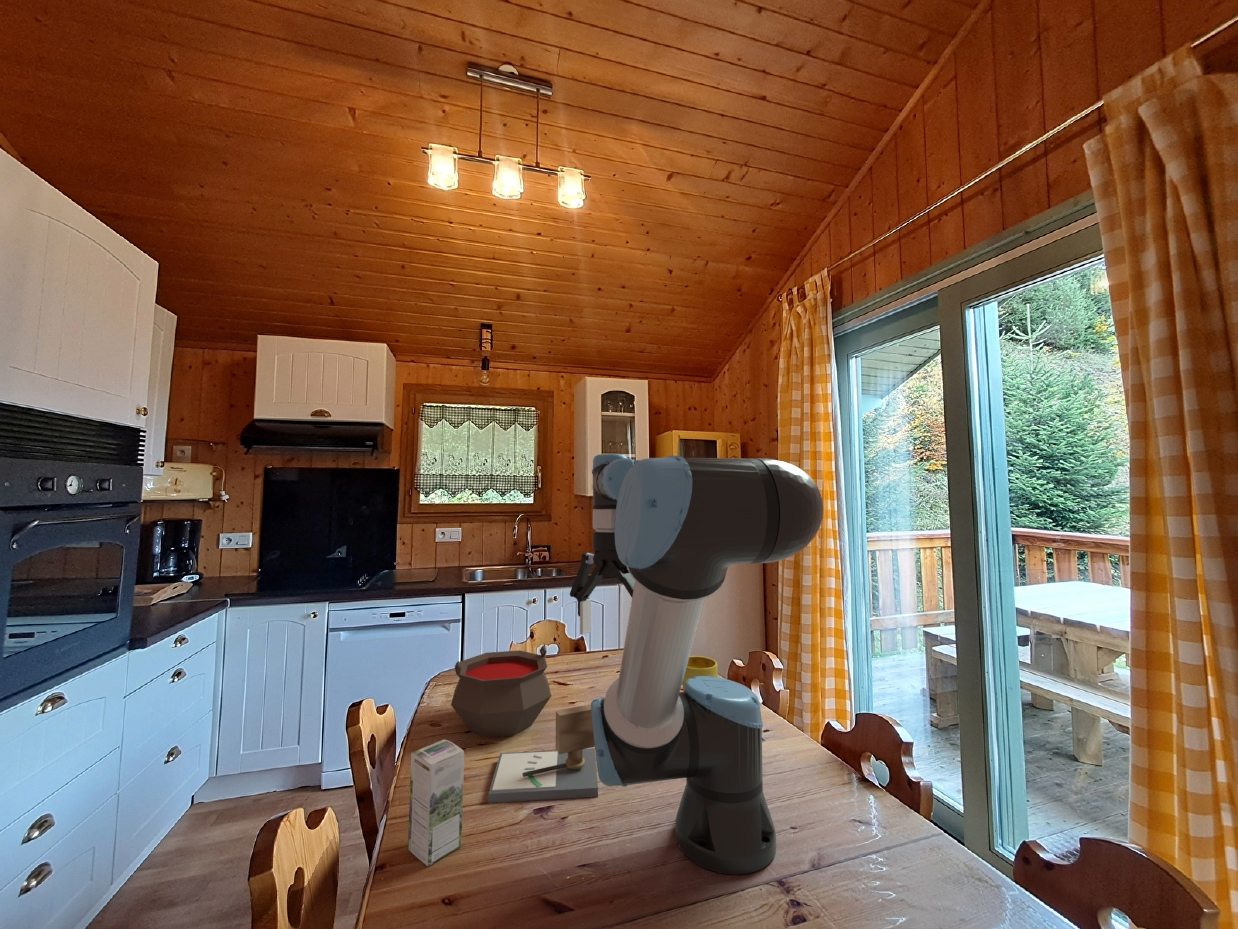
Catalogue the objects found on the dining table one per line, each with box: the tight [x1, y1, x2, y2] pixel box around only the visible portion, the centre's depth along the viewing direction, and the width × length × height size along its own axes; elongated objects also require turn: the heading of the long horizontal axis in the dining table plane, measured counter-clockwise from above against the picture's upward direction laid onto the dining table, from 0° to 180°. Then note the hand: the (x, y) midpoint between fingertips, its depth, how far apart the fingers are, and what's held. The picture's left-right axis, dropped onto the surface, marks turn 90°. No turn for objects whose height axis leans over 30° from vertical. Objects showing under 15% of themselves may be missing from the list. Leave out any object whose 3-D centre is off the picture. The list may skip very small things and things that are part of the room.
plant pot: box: [681, 655, 718, 692], centre depth 131 cm, size 10×10×10 cm
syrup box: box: [407, 739, 465, 867], centre depth 76 cm, size 6×6×14 cm
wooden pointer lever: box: [523, 703, 595, 777], centre depth 94 cm, size 14×4×10 cm, turn 114°
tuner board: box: [487, 748, 599, 804], centre depth 95 cm, size 14×19×2 cm
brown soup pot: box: [450, 644, 552, 739], centre depth 118 cm, size 24×24×16 cm
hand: (611, 638), depth 100 cm, fingers open, 13 cm apart
